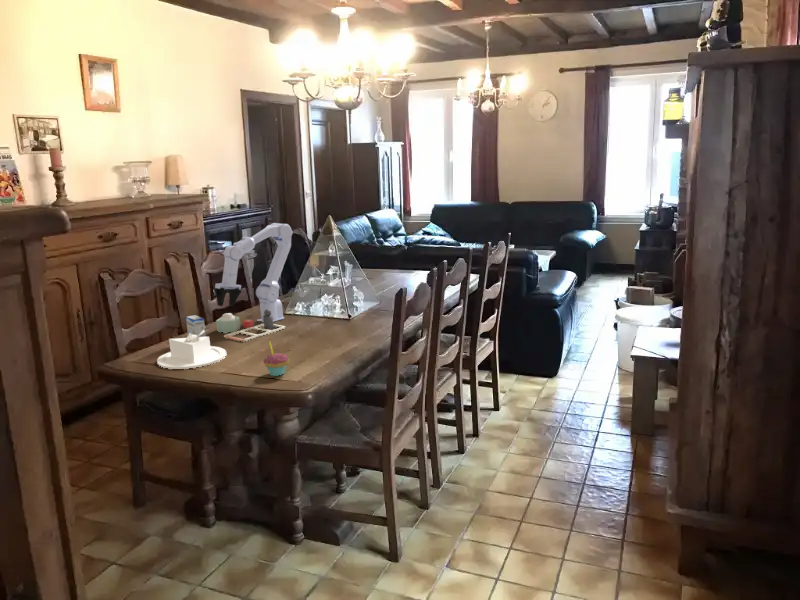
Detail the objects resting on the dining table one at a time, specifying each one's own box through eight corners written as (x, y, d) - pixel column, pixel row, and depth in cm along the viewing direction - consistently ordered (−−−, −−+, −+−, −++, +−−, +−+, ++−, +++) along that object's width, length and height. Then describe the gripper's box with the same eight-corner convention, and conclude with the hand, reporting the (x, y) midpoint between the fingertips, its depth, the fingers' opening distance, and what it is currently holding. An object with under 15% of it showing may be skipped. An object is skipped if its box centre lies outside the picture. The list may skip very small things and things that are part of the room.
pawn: (269, 327, 286) (267, 307, 284) (275, 328, 283) (274, 308, 281) (262, 329, 283) (260, 309, 281) (268, 330, 280) (266, 310, 278)
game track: (266, 324, 290) (266, 322, 290) (286, 328, 282) (286, 326, 282) (224, 337, 273) (223, 335, 273) (243, 342, 265) (243, 339, 265)
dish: (238, 350, 256) (235, 322, 253) (202, 372, 232) (198, 341, 230) (183, 347, 263) (180, 320, 260) (143, 368, 239) (138, 338, 237)
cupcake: (261, 377, 223) (258, 343, 221) (269, 369, 232) (266, 336, 229) (286, 378, 222) (283, 343, 219) (293, 369, 230) (290, 336, 228)
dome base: (230, 326, 290) (228, 315, 289) (244, 329, 284) (242, 318, 283) (214, 330, 284) (212, 319, 283) (228, 334, 278) (226, 322, 277)
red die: (247, 326, 288) (246, 319, 288) (253, 326, 287) (253, 319, 287) (243, 328, 285) (242, 321, 285) (250, 328, 284) (249, 321, 284)
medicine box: (187, 336, 277) (185, 316, 275) (197, 334, 279) (195, 314, 277) (196, 340, 271) (193, 319, 269) (206, 338, 274) (204, 317, 272)
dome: (229, 321, 287) (228, 312, 286) (238, 323, 284) (237, 313, 283) (218, 324, 283) (217, 315, 282) (227, 326, 279) (226, 316, 278)
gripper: (233, 273, 288) (229, 304, 289) (211, 271, 275) (206, 304, 276) (246, 275, 285) (242, 306, 286) (224, 274, 272) (220, 306, 273)
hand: (225, 305), depth 281 cm, fingers open, 7 cm apart
